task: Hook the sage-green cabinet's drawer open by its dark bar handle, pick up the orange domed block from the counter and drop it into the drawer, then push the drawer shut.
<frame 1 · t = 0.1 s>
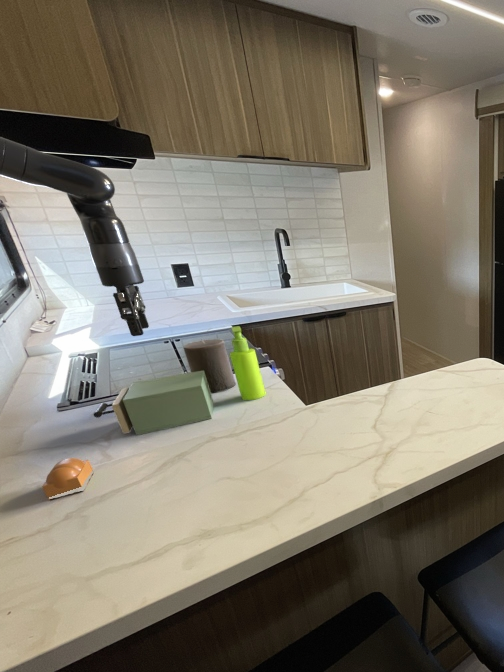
hand: (141, 331, 99), 21 cm above the countertop, tool pointing down, fingers open, 8 cm apart
orange domed block: (72, 485, 75), on the countertop
cabinet: (178, 416, 102), on the countertop
drawer: (147, 405, 98), point 4 cm above the countertop, slide at 1.0 cm
pillar candle: (217, 387, 120), on the countertop
soap dispenser: (254, 397, 113), on the countertop
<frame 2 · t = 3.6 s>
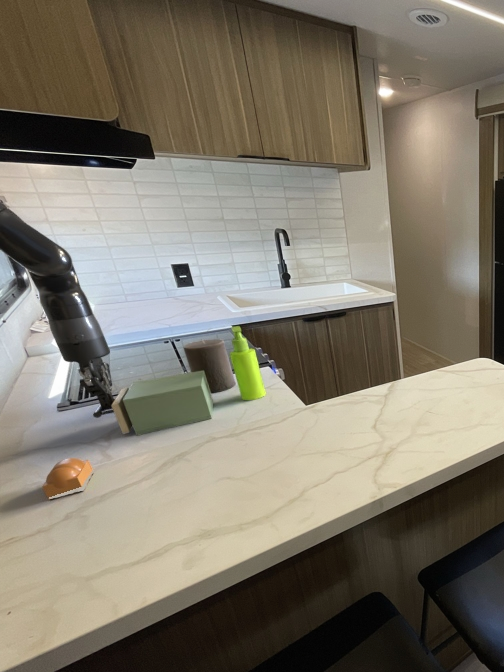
hand: (110, 408, 94), 6 cm above the countertop, tool pointing down, fingers closed
drawer: (147, 405, 98), point 4 cm above the countertop, slide at 1.1 cm, touching gripper
everything else where it was.
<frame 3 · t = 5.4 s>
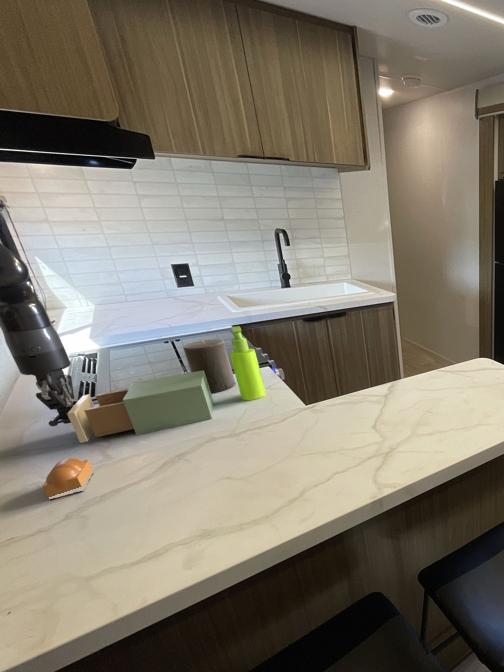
hand: (71, 421, 91), 4 cm above the countertop, tool pointing down, fingers closed
drawer: (108, 413, 94), point 4 cm above the countertop, slide at 8.2 cm, touching gripper
everything else where it was.
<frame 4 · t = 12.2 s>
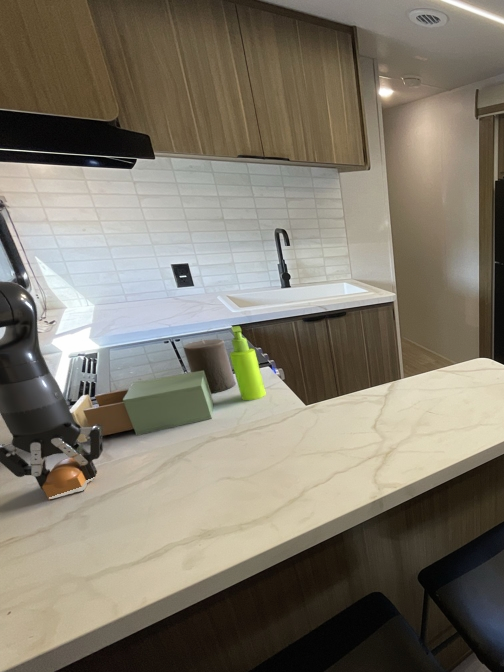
hand: (72, 484, 75), 0 cm above the countertop, tool pointing down, fingers closed on orange domed block, 4 cm apart
orange domed block: (72, 485, 75), on the countertop, touching gripper
drawer: (107, 413, 94), point 4 cm above the countertop, slide at 8.4 cm
everything else where it was.
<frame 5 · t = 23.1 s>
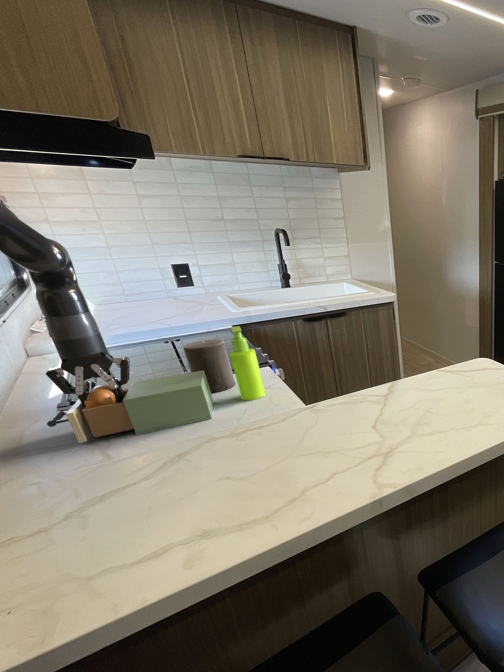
hand: (105, 404, 93), 7 cm above the countertop, tool pointing down, fingers closed on orange domed block, 4 cm apart
orange domed block: (106, 406, 94), point 6 cm above the countertop, touching gripper
drawer: (106, 413, 94), point 4 cm above the countertop, slide at 8.5 cm, touching gripper
everything else where it was.
when the fingers open (10 cm above the countertop, at t = 33.7 s): orange domed block drops 7 cm, resting on drawer.
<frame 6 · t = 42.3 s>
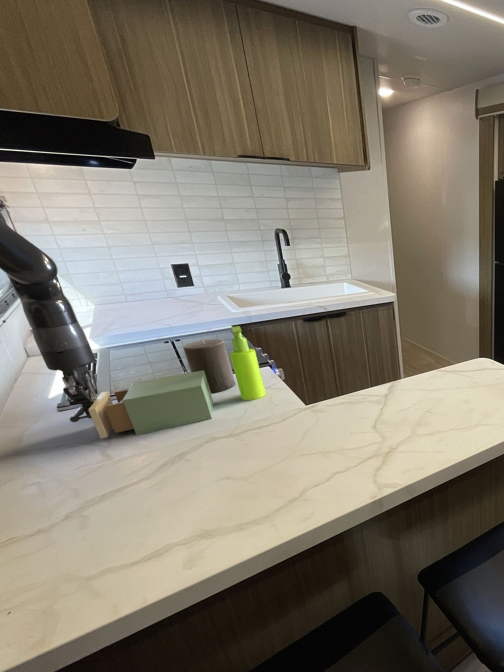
hand: (95, 416, 93), 4 cm above the countertop, tool pointing down, fingers closed
orange domed block: (133, 418, 97), point 2 cm above the countertop, touching drawer
drawer: (126, 409, 96), point 4 cm above the countertop, slide at 4.9 cm, touching orange domed block, gripper
everything else where it was.
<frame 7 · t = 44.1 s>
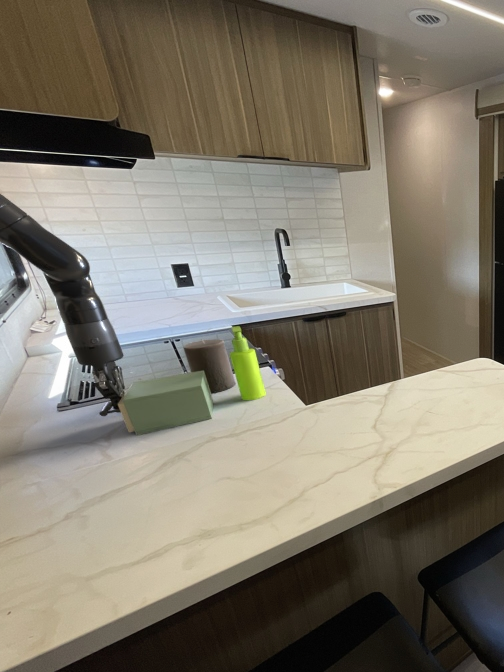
hand: (122, 410, 95), 4 cm above the countertop, tool pointing down, fingers closed
orange domed block: (158, 413, 99), point 2 cm above the countertop, touching drawer
drawer: (152, 404, 98), point 4 cm above the countertop, slide at 0.0 cm, touching orange domed block, cabinet
everything else where it was.
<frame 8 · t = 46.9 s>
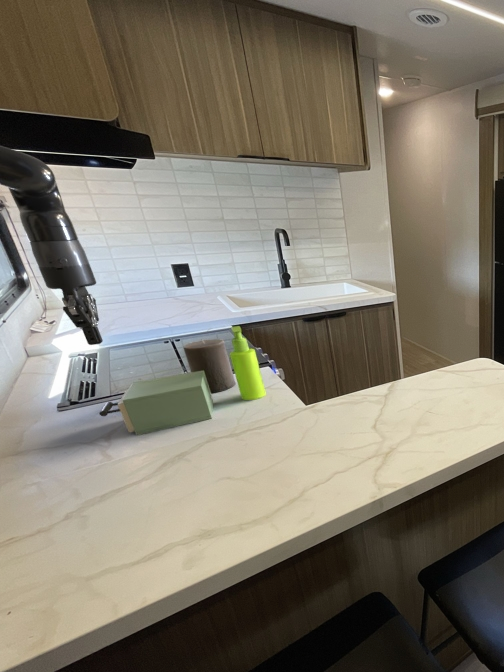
hand: (96, 343, 89), 21 cm above the countertop, tool pointing down, fingers closed
nothing on the countertop moved.
at the end: drawer pulled out 8.5 cm at the most during the clip, back to where it started at the end; orange domed block inside the target area in the cabinet (2.9 cm from its centre), point 2.0 cm above the cabinet's base; drawer slide at 0.0 cm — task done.
